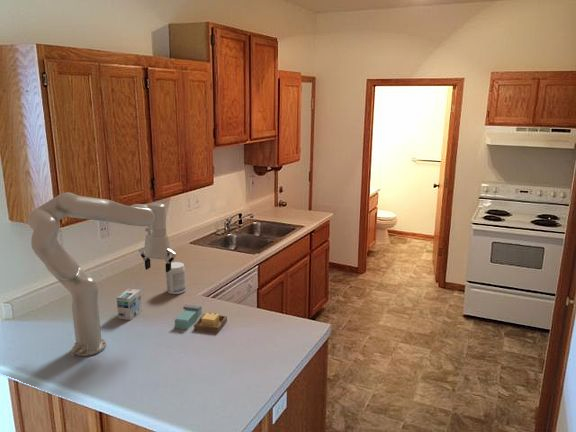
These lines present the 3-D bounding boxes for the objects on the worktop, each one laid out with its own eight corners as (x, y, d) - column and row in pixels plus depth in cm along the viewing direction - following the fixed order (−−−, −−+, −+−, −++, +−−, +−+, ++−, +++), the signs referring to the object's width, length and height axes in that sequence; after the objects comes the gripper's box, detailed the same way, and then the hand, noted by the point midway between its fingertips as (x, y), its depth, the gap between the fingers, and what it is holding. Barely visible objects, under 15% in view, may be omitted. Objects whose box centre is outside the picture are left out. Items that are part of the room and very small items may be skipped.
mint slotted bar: (189, 329, 204) (188, 319, 202) (173, 327, 205) (172, 317, 204) (203, 313, 219) (203, 303, 217) (188, 312, 220) (188, 301, 219)
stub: (214, 328, 204) (214, 319, 203) (201, 326, 205) (201, 318, 204) (219, 322, 210) (219, 313, 209) (206, 320, 211) (206, 312, 210)
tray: (218, 332, 201) (218, 327, 201) (194, 329, 204) (194, 324, 203) (226, 321, 212) (226, 316, 211) (204, 318, 214) (203, 313, 214)
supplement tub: (188, 288, 247) (187, 262, 244) (181, 295, 238) (180, 268, 234) (171, 286, 249) (170, 261, 245) (163, 294, 240) (162, 267, 236)
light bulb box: (131, 320, 211) (129, 298, 209) (117, 318, 213) (115, 297, 210) (142, 310, 221) (141, 289, 219) (129, 308, 223) (128, 288, 220)
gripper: (134, 232, 196) (135, 270, 200) (171, 236, 192) (172, 275, 196) (143, 228, 203) (144, 265, 207) (179, 231, 199) (180, 269, 203)
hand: (158, 269), depth 201 cm, fingers open, 9 cm apart
